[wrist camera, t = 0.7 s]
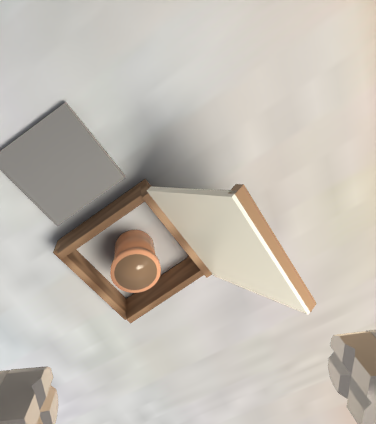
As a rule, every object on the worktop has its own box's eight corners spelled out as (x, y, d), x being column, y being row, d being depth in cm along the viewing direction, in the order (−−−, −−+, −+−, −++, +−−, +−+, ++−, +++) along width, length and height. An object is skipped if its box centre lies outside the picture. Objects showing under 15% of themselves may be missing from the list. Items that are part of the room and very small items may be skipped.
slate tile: (-8, 157, 41) (-11, 159, 41) (66, 102, 40) (64, 102, 40) (58, 223, 47) (57, 226, 46) (125, 175, 46) (125, 178, 45)
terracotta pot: (102, 244, 49) (99, 270, 43) (138, 219, 49) (141, 241, 42) (130, 272, 52) (131, 301, 46) (164, 249, 52) (170, 274, 45)
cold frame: (57, 240, 48) (49, 262, 42) (145, 178, 46) (148, 193, 41) (125, 305, 54) (125, 331, 49) (203, 253, 53) (212, 274, 48)
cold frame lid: (232, 197, 27) (243, 184, 27) (146, 190, 41) (154, 182, 41) (308, 315, 34) (316, 303, 35) (213, 275, 48) (220, 267, 48)
